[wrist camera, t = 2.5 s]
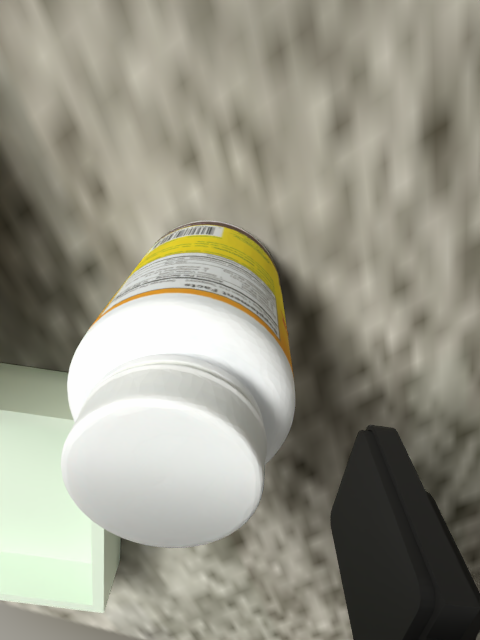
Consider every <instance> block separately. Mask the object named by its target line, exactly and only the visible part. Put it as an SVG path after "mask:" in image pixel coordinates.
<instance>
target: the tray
mask: <svg viewBox="0 0 480 640" xmlns="http://www.w3.org/2000/svg"><path fill="white" fill-rule="evenodd" d="M68 374H69V373H67V372H60V371H54V370H47V369H40V368H33V367H26V366H19V365H12V364H5V363H0V600H5V601H13V602H20V603H28V604H36V605H44V606H52V607H60V608H67V609H75V610H83V611H91V612H99V613H104V611H105V607H106V604H107V601H108V598H109V594H110V591H111V588H112V585H113V581H114V578H115V575H116V572H117V568H118V565H119V562H120V546H121V537H119V536H117V535H115V534H113V533H111V532H109V531H107V530H105V529H104V528H102V527H101V526H99V525H97V524H96V523H95V522H93V521H92V520H91V519H90V518H88V517H87V516H86V515H85V514H84V513H83V512H82V511H81V510H80V509H79V508H78V506H77V505H76V504H75V502H74V501H73V500H72V498H71V497H70V495H69V493H68V491H67V489H66V487H65V484H64V481H63V477H62V471H61V455H62V450H63V446H64V443H65V441H66V438H67V436H68V434H69V433H70V431H71V429H72V427H73V425H74V423H75V422H74V419H73V417H72V414H71V410H70V407H69V402H68V392H67V379H68Z"/></svg>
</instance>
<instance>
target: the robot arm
mask: <svg viewBox="0 0 480 640" xmlns="http://www.w3.org/2000/svg"><path fill="white" fill-rule="evenodd" d="M331 529H332V534H333V539H334V544H335V549H336V554H337V559H338V564H339V569H340V574H341V579H342V584H343V589H344V594H345V599H346V604H347V609H348V614H349V619H350V624H351V629H352V634H353V639H354V640H480V593H479V591H478V589H477V587H476V585H475V583H474V580H473V578H472V576H471V574H470V572H469V570H468V568H467V566H466V564H465V562H464V560H463V558H462V556H461V554H460V552H459V550H458V548H457V546H456V544H455V541H454V539H453V537H452V535H451V533H450V531H449V529H448V527H447V525H446V523H445V521H444V519H443V517H442V515H441V513H440V511H439V509H438V507H437V504H436V502H435V501H434V499H433V497H432V496H431V495H430V494H429V493H428V492H427V491H425V489H424V487H423V485H422V483H421V481H420V479H419V477H418V475H417V473H416V470H415V468H414V466H413V464H412V462H411V460H410V458H409V456H408V454H407V451H406V449H405V447H404V445H403V443H402V441H401V439H400V437H399V435H398V432H397V431H396V429H394V428H389V427H382V426H374V425H369V426H368V427H367V428H366V430H365V431H364V430H360V431H359V432H358V435H357V437H356V440H355V443H354V446H353V449H352V452H351V455H350V458H349V461H348V464H347V467H346V470H345V472H344V475H343V478H342V481H341V484H340V487H339V490H338V493H337V496H336V499H335V502H334V505H333V508H332V511H331Z"/></svg>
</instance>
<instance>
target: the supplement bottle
mask: <svg viewBox="0 0 480 640" xmlns="http://www.w3.org/2000/svg"><path fill="white" fill-rule="evenodd" d="M67 392H68V402H69V407H70V410H71V414H72V417H73V419H74V422H75V423H74V425H73V427H72V429H71V431H70V433H69V434H68V436H67V438H66V441H65V443H64V446H63V450H62V455H61V471H62V477H63V481H64V484H65V487H66V489H67V491H68V493H69V495H70V497H71V498H72V500H73V501H74V502H75V504H76V505H77V506H78V508H79V509H80V510H81V511H82V512H83V513H84V514H85V515H86V516H87V517H88V518H90V519H91V520H92V521H93V522H95V523H96V524H97V525H99V526H101V527H102V528H104V529H105V530H107V531H109V532H111V533H113V534H115V535H117V536H119V537H121V538H124V539H127V540H129V541H132V542H136V543H140V544H144V545H148V546H154V547H165V548H186V547H194V546H199V545H204V544H208V543H211V542H214V541H217V540H220V539H222V538H224V537H226V536H228V535H230V534H231V533H233V532H234V531H236V530H237V529H239V528H240V527H241V526H243V525H244V524H245V523H246V522H247V521H248V520H249V519H250V517H251V516H252V515H253V513H254V512H255V510H256V508H257V507H258V505H259V503H260V500H261V497H262V493H263V488H264V476H265V464H266V463H268V462H269V461H270V459H271V458H272V457H273V456H274V455H275V454H276V453H277V451H278V450H279V449H280V447H281V446H282V444H283V443H284V441H285V439H286V438H287V435H288V433H289V431H290V428H291V425H292V422H293V417H294V412H295V385H294V375H293V369H292V362H291V354H290V347H289V339H288V331H287V326H286V319H285V311H284V305H283V299H282V291H281V284H280V278H279V274H278V271H277V268H276V266H275V263H274V261H273V259H272V257H271V256H270V254H269V253H268V251H267V250H266V248H265V247H264V246H263V245H262V244H261V243H260V242H259V241H258V240H257V239H256V238H255V237H253V236H252V235H251V234H249V233H248V232H246V231H244V230H243V229H241V228H238V227H236V226H234V225H231V224H228V223H223V222H218V221H196V222H191V223H187V224H184V225H181V226H179V227H177V228H175V229H173V230H171V231H170V232H168V233H167V234H165V235H164V236H163V237H161V238H160V239H159V240H158V241H157V242H156V243H155V244H154V245H153V246H152V248H151V249H150V250H149V251H148V253H147V254H146V255H145V257H144V258H143V259H142V260H141V262H140V263H139V264H138V266H137V267H136V268H135V269H134V271H133V272H132V273H131V275H130V276H129V277H128V279H127V280H126V281H125V282H124V284H123V285H122V286H121V288H120V289H119V290H118V292H117V293H116V294H115V295H114V297H113V298H112V299H111V301H110V302H109V303H108V305H107V306H106V307H105V309H104V310H103V311H102V313H101V314H100V315H99V316H98V318H97V319H96V320H95V322H94V323H93V324H92V326H91V327H90V328H89V330H88V332H87V333H86V335H85V336H84V338H83V339H82V341H81V342H80V344H79V346H78V347H77V349H76V351H75V354H74V356H73V359H72V362H71V365H70V368H69V374H68V379H67Z"/></svg>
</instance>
